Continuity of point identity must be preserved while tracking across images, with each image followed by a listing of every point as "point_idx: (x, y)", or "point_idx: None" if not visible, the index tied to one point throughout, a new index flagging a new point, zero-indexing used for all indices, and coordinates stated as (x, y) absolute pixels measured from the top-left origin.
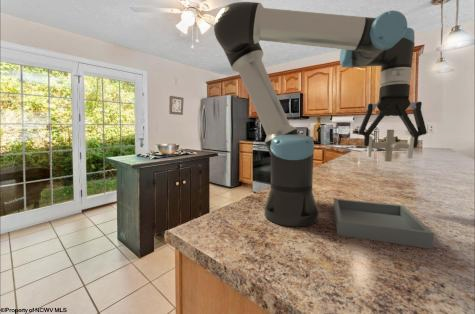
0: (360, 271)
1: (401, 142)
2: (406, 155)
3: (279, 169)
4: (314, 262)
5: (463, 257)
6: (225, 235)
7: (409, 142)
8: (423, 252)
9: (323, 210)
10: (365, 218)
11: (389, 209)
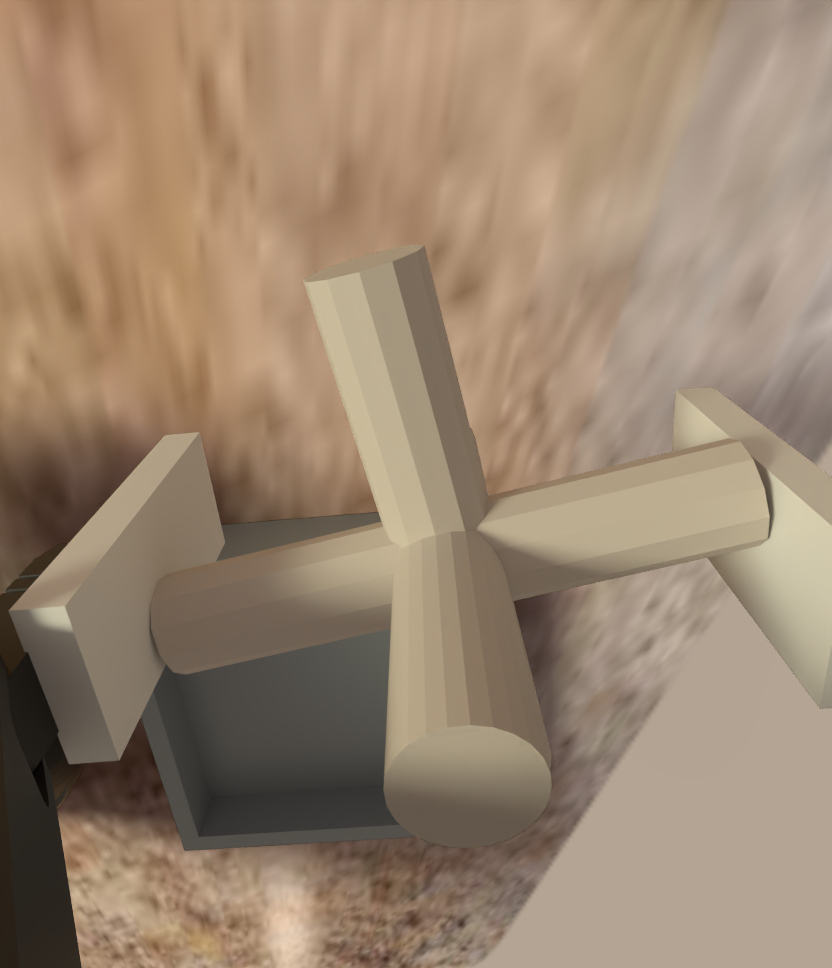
0: (288, 938)
1: (658, 544)
2: (684, 413)
3: None
4: (175, 945)
5: (580, 794)
6: None
7: (772, 581)
8: None
9: None
10: (297, 650)
11: None
